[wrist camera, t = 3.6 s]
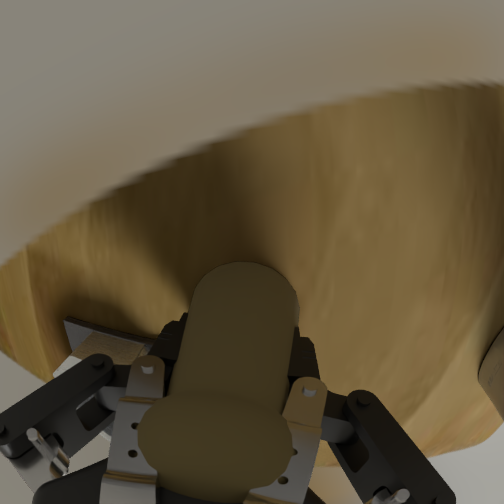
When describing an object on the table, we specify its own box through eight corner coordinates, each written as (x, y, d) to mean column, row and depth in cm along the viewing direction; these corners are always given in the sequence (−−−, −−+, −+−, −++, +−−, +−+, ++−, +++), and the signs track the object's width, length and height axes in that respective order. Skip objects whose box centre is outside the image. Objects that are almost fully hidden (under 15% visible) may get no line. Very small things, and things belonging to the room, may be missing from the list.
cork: (180, 267, 14) (52, 432, 4) (295, 255, 14) (336, 468, 3) (204, 356, 16) (150, 517, 6) (302, 350, 15) (318, 530, 5)
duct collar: (192, 347, 16) (175, 386, 12) (197, 432, 19) (188, 465, 16) (67, 316, 16) (39, 341, 13) (96, 403, 19) (80, 429, 16)
